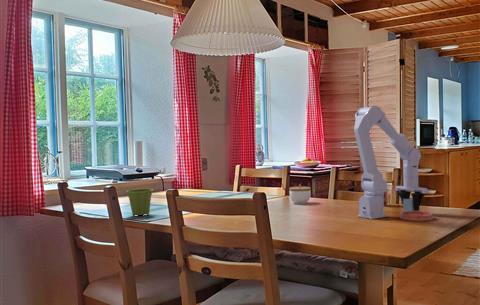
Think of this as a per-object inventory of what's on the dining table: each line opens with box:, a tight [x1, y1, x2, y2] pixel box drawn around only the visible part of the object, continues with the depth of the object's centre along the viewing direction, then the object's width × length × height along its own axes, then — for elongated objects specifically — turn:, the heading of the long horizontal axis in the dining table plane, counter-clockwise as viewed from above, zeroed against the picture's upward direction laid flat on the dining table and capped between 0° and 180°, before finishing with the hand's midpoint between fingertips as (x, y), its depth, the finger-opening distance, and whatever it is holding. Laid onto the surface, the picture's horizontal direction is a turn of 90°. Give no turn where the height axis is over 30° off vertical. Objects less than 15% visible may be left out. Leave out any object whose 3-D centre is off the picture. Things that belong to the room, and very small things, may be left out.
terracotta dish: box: [399, 210, 434, 222], centre depth 180 cm, size 12×12×2 cm
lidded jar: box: [288, 183, 312, 205], centre depth 231 cm, size 11×11×9 cm
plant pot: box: [125, 188, 154, 216], centre depth 208 cm, size 12×12×11 cm
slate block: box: [402, 197, 421, 212], centre depth 192 cm, size 4×4×6 cm
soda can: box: [383, 178, 388, 207], centre depth 216 cm, size 7×7×12 cm
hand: (411, 209), depth 192 cm, fingers closed on slate block, 4 cm apart
